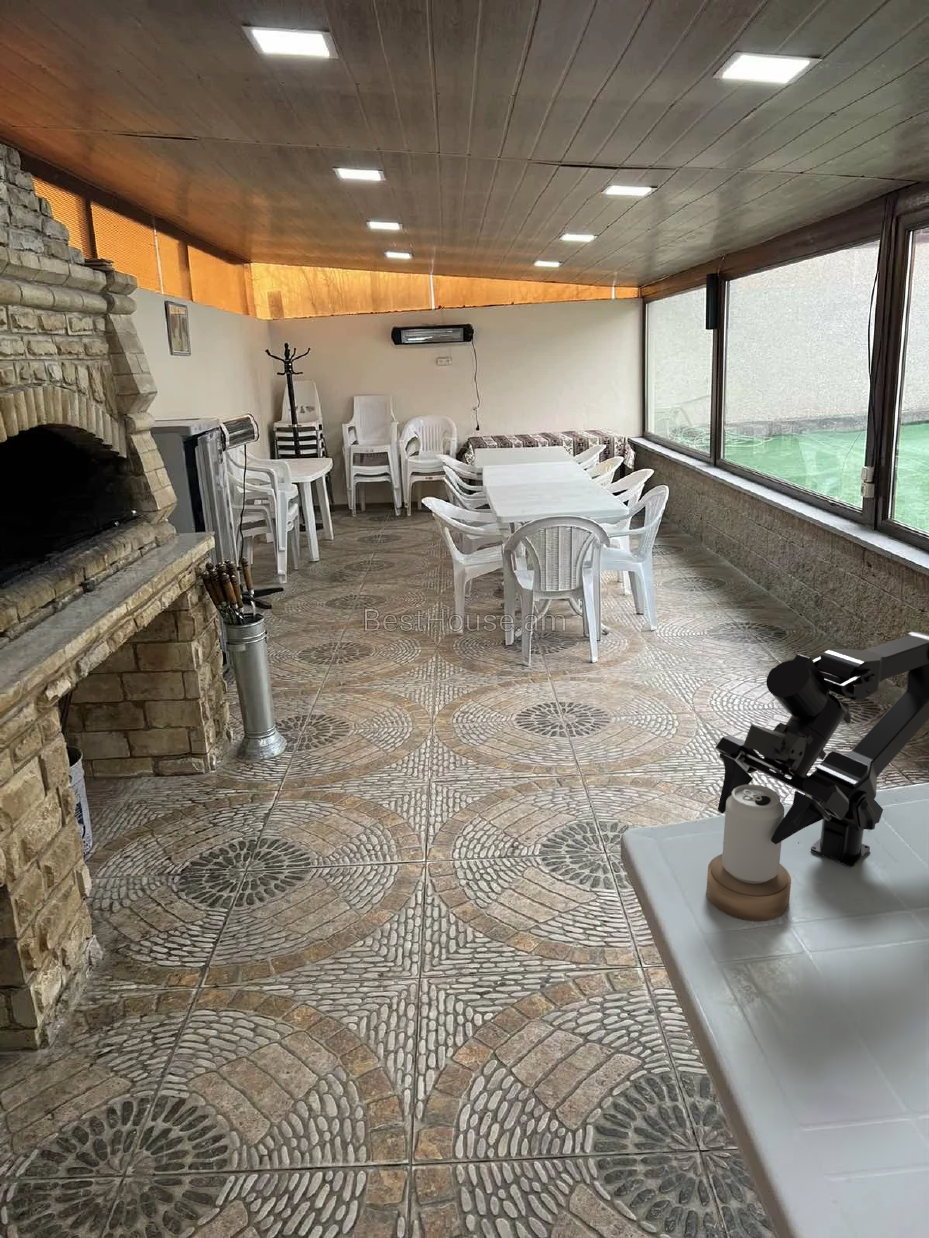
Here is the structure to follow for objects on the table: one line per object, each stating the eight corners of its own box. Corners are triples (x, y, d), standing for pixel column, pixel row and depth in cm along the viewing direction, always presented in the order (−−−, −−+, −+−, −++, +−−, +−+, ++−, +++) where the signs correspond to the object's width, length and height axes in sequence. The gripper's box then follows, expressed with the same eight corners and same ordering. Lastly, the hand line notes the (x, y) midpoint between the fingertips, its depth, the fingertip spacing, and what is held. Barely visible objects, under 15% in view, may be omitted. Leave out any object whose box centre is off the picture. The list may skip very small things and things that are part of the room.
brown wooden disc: (731, 863, 128) (733, 840, 126) (803, 894, 120) (805, 870, 119) (691, 896, 121) (692, 872, 119) (764, 932, 113) (766, 906, 112)
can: (765, 893, 114) (772, 814, 110) (712, 873, 119) (717, 796, 115) (786, 867, 120) (794, 791, 116) (735, 849, 124) (740, 775, 121)
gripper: (728, 681, 121) (667, 773, 119) (844, 728, 106) (775, 834, 104) (762, 719, 127) (705, 806, 125) (877, 768, 112) (813, 869, 110)
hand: (745, 826), depth 116 cm, fingers open, 9 cm apart
